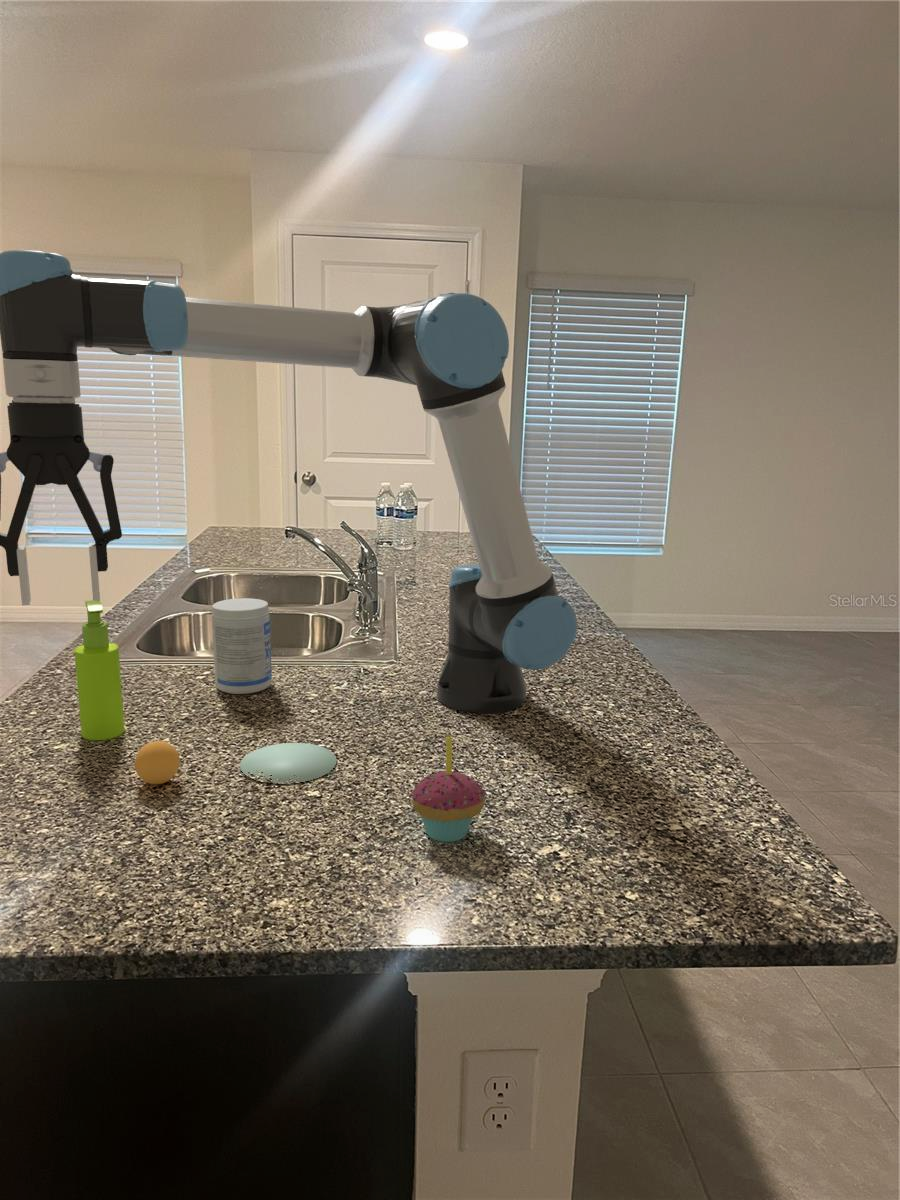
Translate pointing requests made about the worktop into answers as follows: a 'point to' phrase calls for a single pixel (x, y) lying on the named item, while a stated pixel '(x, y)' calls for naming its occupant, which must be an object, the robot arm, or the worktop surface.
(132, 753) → the worktop surface
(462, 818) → the cupcake
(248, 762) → the smooth pale green disc
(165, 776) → the ball
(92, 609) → the soap dispenser
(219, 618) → the supplement tub
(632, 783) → the worktop surface
